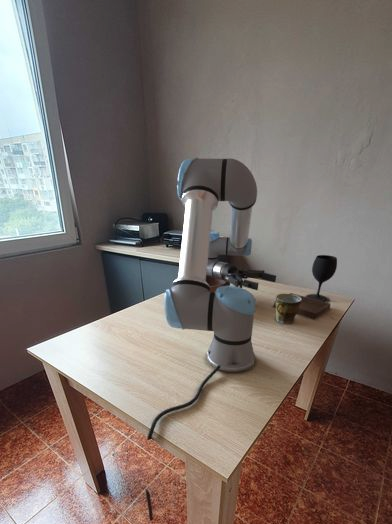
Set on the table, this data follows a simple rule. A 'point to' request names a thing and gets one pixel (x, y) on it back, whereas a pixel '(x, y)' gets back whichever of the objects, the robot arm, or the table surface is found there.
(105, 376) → the table surface
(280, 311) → the ceramic cup
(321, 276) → the wine glass
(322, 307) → the tray
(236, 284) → the robot arm
